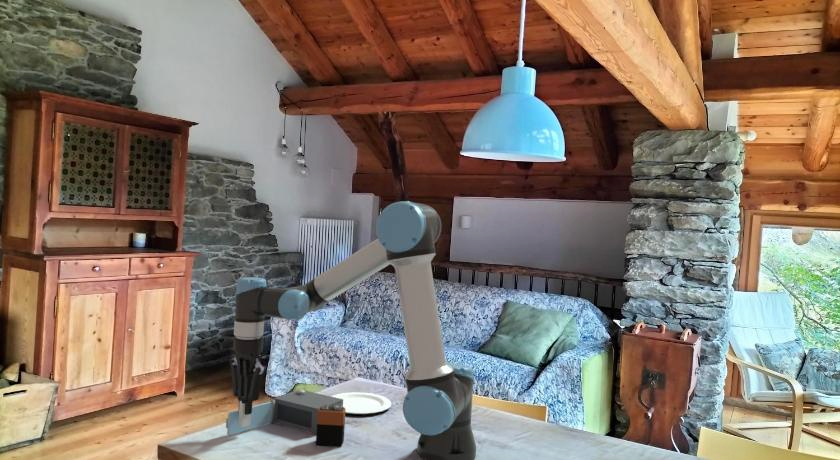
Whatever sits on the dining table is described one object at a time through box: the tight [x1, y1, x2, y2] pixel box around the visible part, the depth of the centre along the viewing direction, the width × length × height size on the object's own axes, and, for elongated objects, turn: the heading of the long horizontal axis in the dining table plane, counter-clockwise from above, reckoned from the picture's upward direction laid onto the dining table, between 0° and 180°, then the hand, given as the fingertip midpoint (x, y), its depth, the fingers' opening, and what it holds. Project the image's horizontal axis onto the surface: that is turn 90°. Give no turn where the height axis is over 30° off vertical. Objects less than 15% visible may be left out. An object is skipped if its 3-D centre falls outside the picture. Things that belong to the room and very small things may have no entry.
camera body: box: [273, 388, 343, 435], centre depth 169 cm, size 18×11×8 cm, turn 63°
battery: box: [315, 405, 346, 448], centre depth 155 cm, size 4×7×10 cm, turn 90°
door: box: [225, 399, 275, 437], centre depth 162 cm, size 15×2×6 cm, turn 143°
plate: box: [331, 391, 392, 416], centre depth 187 cm, size 21×21×2 cm
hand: (244, 425), depth 157 cm, fingers closed
